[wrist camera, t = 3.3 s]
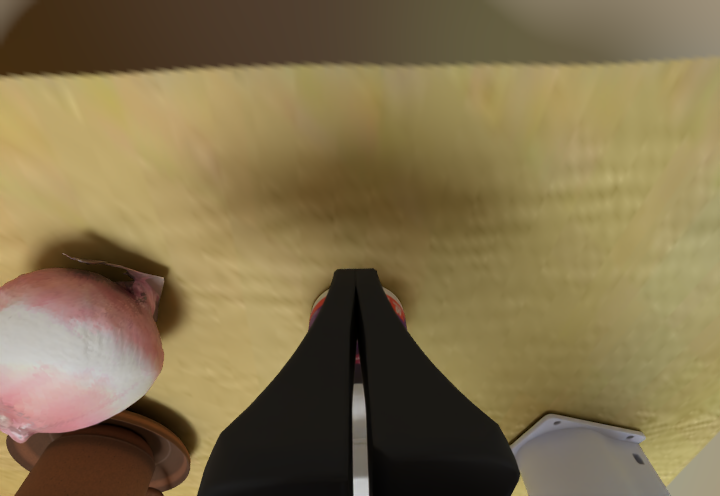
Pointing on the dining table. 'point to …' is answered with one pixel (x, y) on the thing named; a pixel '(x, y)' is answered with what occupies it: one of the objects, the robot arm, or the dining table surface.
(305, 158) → the dining table surface
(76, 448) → the cup and saucer
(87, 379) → the onion
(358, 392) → the pill bottle
